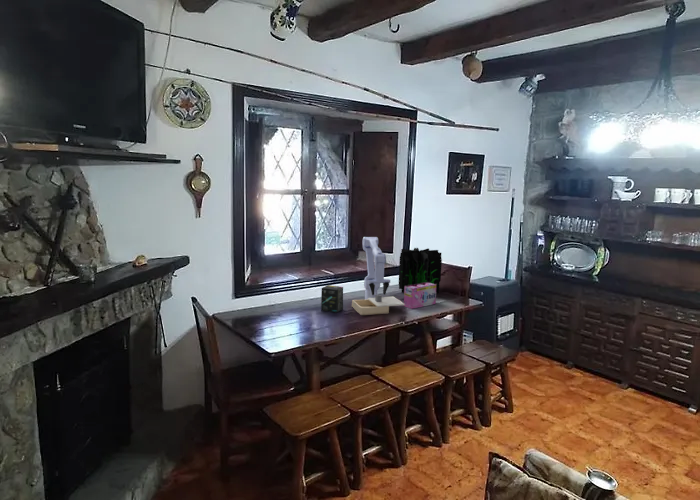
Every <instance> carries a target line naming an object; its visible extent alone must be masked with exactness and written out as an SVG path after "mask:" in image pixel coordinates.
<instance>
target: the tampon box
mask: <svg viewBox="0 0 700 500" xmlns="http://www.w3.org/2000/svg"><path fill="white" fill-rule="evenodd" d="M320 301H321V303H320V309H321V311H322V310H323V311H324V312H328V311H330V313H336V314H337V313H338V312H340V311H342V310H343V309H344V286H338V285H330V284H328V285H325V286H324V287H321V298H320ZM323 311H322V312H323Z"/></svg>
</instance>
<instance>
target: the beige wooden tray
mask: <svg viewBox="0 0 700 500" xmlns="http://www.w3.org/2000/svg"><path fill="white" fill-rule="evenodd" d="M352 307H353V308H354V309H353V308H352ZM351 308H352V309H353V310H355V312H357V313H358V314H359V315H360V316H371V315H382V314H383V315H384V314H385V315H386V314H389V313H390V312H389V311H390V306H384V307H377V306H376V305H374V304H373V303H372V302H371V301H369V300H368V299H365V298H364V299H352V300H351Z"/></svg>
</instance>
